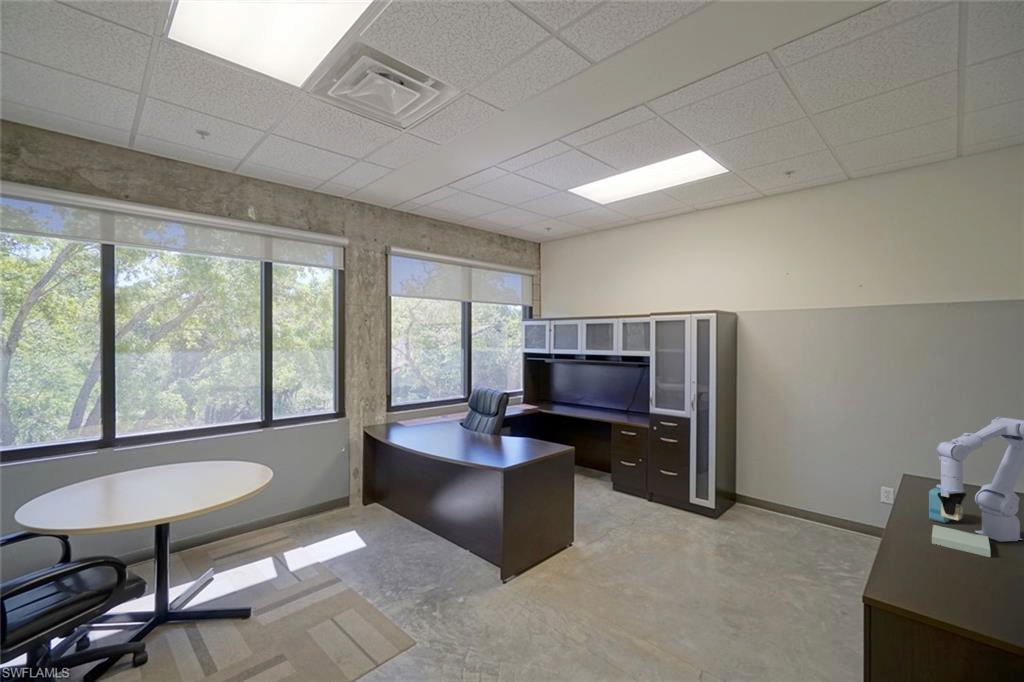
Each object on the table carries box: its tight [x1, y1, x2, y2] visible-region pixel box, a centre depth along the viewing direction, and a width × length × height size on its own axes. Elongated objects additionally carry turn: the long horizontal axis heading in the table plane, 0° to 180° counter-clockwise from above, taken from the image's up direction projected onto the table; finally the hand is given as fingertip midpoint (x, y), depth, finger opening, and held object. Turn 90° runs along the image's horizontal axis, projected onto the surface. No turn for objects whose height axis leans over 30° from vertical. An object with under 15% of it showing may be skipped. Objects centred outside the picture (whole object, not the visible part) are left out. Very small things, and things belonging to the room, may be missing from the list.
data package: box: [928, 486, 952, 524], centre depth 175 cm, size 12×4×12 cm, turn 121°
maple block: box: [941, 504, 963, 521], centre depth 159 cm, size 4×4×4 cm
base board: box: [931, 524, 991, 558], centre depth 154 cm, size 14×14×2 cm
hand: (952, 512), depth 159 cm, fingers closed on maple block, 4 cm apart
